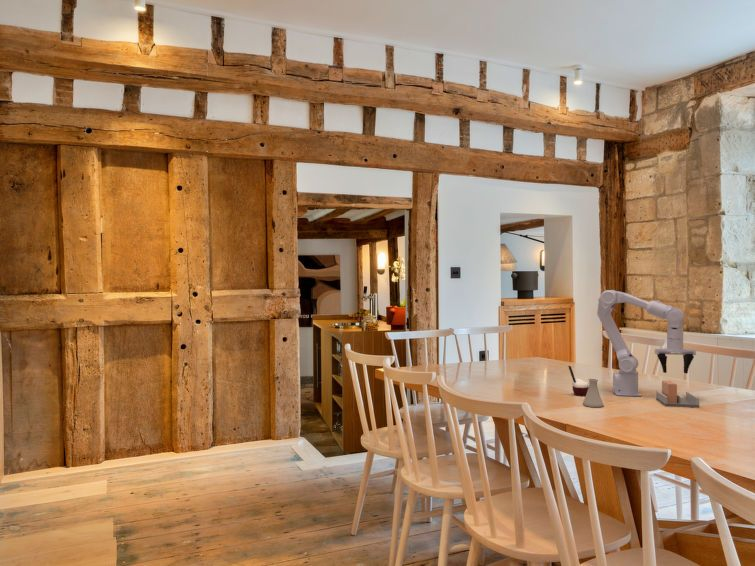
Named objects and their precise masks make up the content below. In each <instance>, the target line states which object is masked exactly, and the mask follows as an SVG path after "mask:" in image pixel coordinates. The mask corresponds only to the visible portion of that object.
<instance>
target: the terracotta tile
mask: <svg viewBox="0 0 755 566" xmlns="http://www.w3.org/2000/svg"><path fill="white" fill-rule="evenodd" d="M661 393H662V394H664V395H665V396H667V397H668V403H677V394H678V385H677V383H675V382H673V381H672V380H661Z"/></svg>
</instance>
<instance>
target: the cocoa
mask: <svg viewBox="0 0 755 566" xmlns="http://www.w3.org/2000/svg"><path fill="white" fill-rule="evenodd" d="M568 370H569V372H570V376H571V378H572V384H571V385H572V392H573V394H574V395H575V396H578V397H586V394H587V391H588V388H589V382H587V381H585V380H583V379H581V378H575V375H574V372H573V369H572V366H571V365H568Z"/></svg>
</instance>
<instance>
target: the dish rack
mask: <svg viewBox="0 0 755 566" xmlns="http://www.w3.org/2000/svg"><path fill="white" fill-rule="evenodd" d="M655 393H656V394H655V395H656V396H655V399H656V400H655V401H657V402H659V403H660V404H662V406H664V407H669V408H670V407H671V408H673V407H674V408H695V409H696V408H697V409H698V408H700V398H699V396H696V395H695V394H693V393H691V392H689V391H685V397H684V396H681V395H680V394H678V393H677V403H668V397H667V396H665V395H664V394H662V391H659V390H656V391H655Z"/></svg>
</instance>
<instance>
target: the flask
mask: <svg viewBox="0 0 755 566" xmlns="http://www.w3.org/2000/svg"><path fill="white" fill-rule="evenodd" d="M598 381H599V380H598V379H597V378H588V386H589V388H588V391H587V394H586V395H585V396H584V399H583V400H582V401H583V402H582V405H583V406H584V407H590V408H602V407H605V405H604V402H603V400H602V397H601V394H600V391H599V388H598Z"/></svg>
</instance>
